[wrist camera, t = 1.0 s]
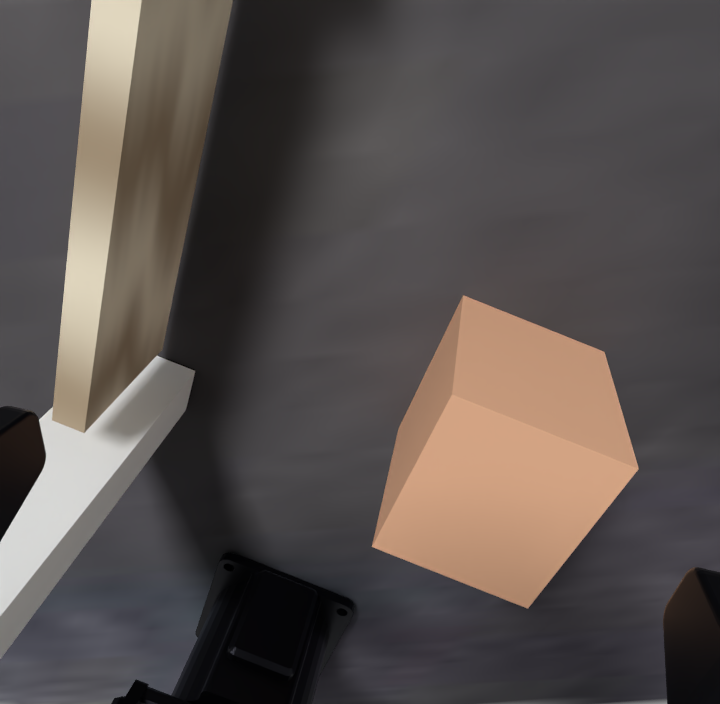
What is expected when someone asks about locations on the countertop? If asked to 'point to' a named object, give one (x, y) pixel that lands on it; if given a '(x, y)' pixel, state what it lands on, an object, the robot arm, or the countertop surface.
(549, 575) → the doorstop block
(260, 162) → the countertop surface
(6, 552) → the twin post hurdle
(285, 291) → the countertop surface
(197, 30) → the gate
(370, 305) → the countertop surface
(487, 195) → the countertop surface
